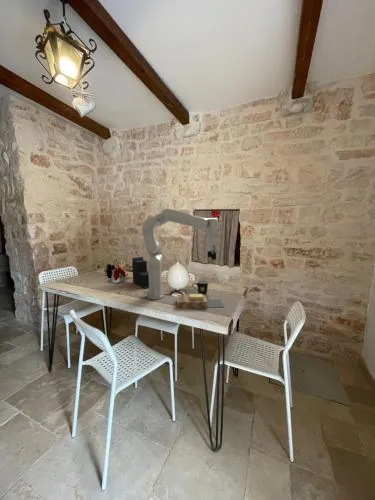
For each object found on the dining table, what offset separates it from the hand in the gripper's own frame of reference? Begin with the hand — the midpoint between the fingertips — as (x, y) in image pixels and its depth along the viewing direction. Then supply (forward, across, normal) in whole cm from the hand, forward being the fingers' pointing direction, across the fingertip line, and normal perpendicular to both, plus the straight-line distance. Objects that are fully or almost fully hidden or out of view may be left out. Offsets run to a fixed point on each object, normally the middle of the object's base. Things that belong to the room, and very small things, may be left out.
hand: (211, 258), depth 161 cm
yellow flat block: (+26, +11, -14) cm, 31 cm away
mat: (+30, +13, -2) cm, 32 cm away
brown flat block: (+30, +10, -17) cm, 36 cm away
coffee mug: (+30, -8, -6) cm, 31 cm away
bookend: (+30, -41, -50) cm, 71 cm away
